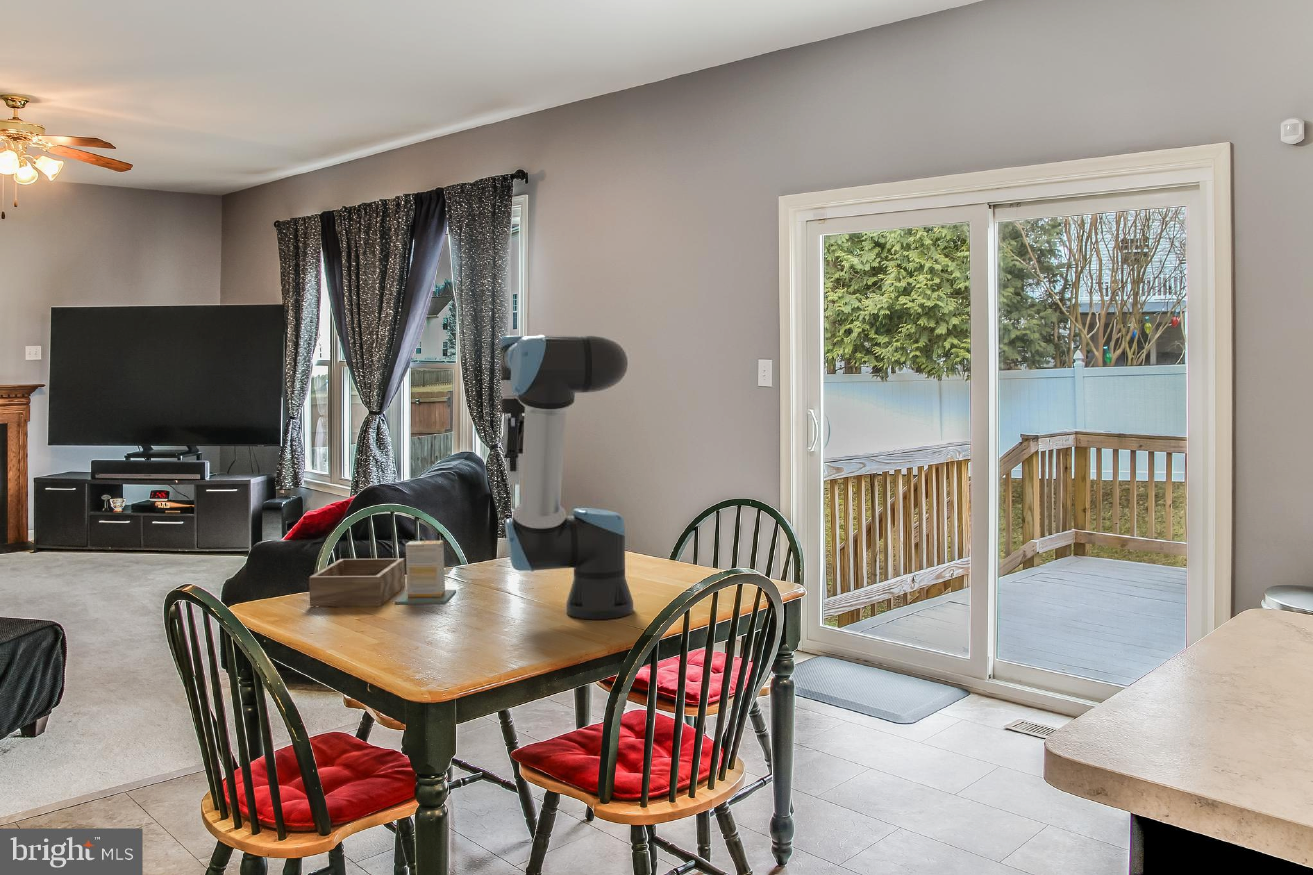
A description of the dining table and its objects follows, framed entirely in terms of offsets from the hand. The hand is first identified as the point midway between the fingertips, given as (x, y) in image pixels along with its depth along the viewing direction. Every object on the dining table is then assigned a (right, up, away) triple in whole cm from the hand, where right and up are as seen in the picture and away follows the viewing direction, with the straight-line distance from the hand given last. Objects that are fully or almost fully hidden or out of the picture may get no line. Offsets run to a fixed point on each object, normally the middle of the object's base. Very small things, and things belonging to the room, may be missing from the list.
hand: (517, 481), depth 245 cm
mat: (-21, -28, -11) cm, 36 cm away
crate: (-38, -28, -8) cm, 47 cm away
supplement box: (-21, -27, -11) cm, 36 cm away
